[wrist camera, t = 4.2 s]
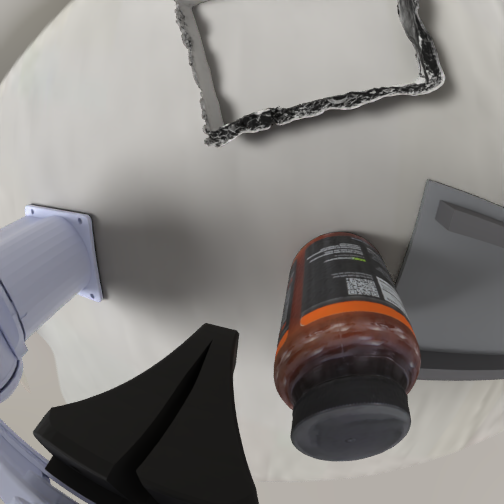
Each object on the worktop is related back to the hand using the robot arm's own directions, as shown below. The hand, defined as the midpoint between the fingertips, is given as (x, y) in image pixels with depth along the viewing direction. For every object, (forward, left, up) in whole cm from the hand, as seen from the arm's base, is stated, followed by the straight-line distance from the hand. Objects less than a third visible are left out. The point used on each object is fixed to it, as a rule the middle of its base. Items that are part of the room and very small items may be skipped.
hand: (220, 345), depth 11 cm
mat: (+17, 0, -8) cm, 19 cm away
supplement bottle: (+5, 0, -8) cm, 10 cm away
